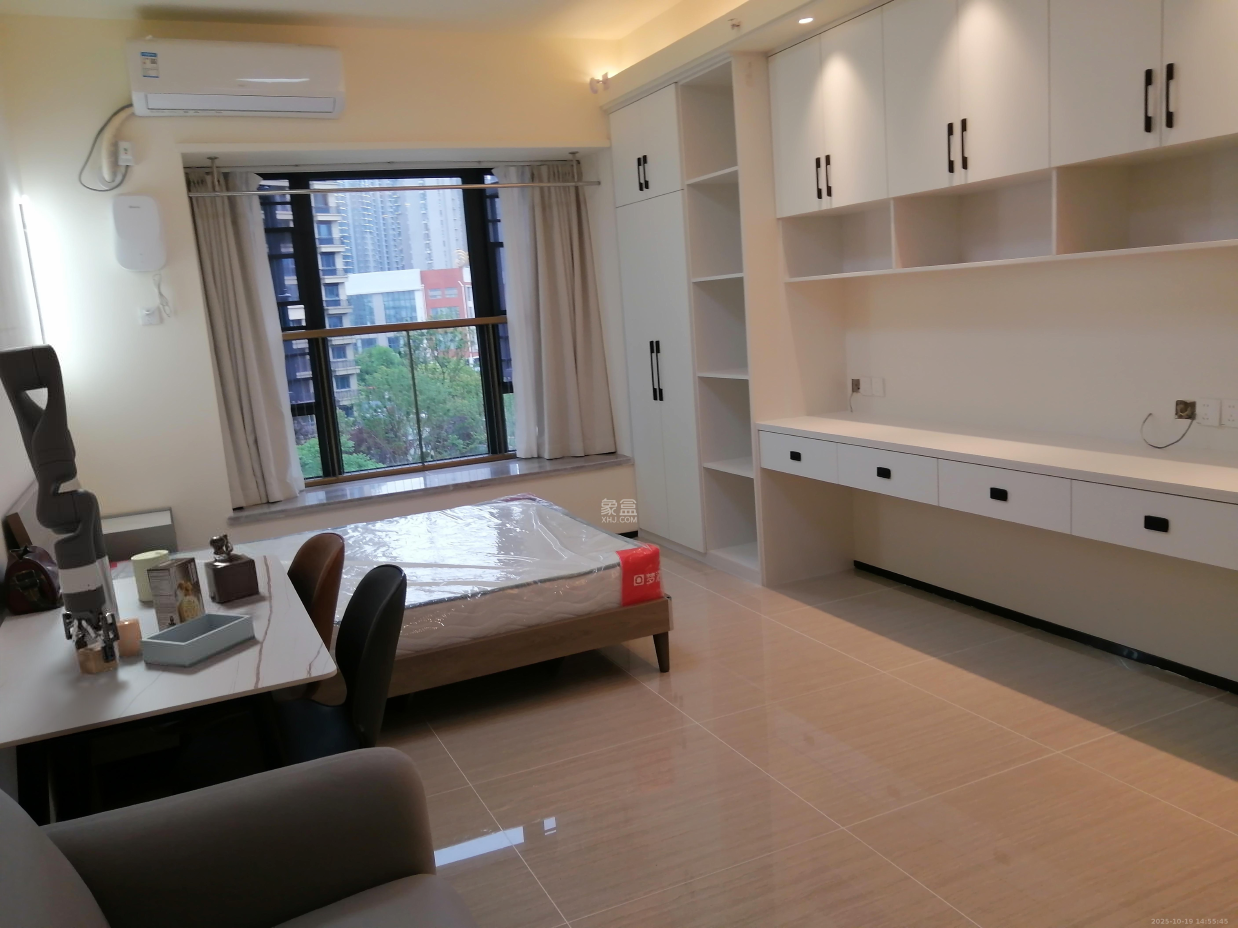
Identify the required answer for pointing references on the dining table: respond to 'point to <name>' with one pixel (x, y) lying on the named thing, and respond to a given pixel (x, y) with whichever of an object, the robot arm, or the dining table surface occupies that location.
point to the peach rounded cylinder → (129, 637)
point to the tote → (197, 639)
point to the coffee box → (175, 592)
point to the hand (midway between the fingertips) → (97, 660)
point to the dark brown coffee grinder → (230, 573)
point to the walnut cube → (94, 660)
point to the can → (140, 570)
